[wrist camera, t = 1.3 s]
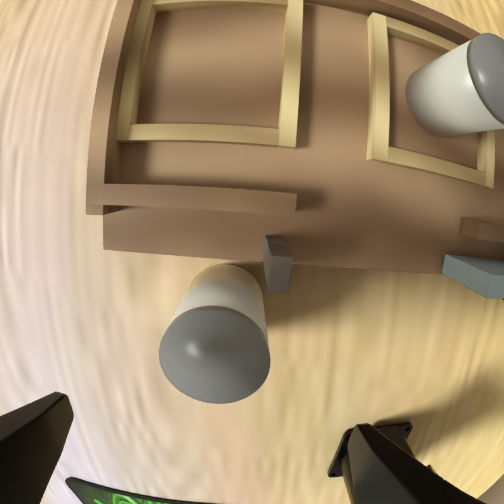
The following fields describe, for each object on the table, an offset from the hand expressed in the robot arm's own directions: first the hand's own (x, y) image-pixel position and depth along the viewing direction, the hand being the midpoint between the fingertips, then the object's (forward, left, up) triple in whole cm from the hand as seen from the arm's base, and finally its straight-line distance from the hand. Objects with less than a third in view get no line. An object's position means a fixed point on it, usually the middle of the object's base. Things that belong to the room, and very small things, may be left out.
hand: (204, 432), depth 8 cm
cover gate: (+3, -18, -9) cm, 21 cm away
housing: (+11, -8, -10) cm, 17 cm away
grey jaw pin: (0, 0, -10) cm, 10 cm away
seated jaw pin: (+13, -11, -9) cm, 20 cm away
